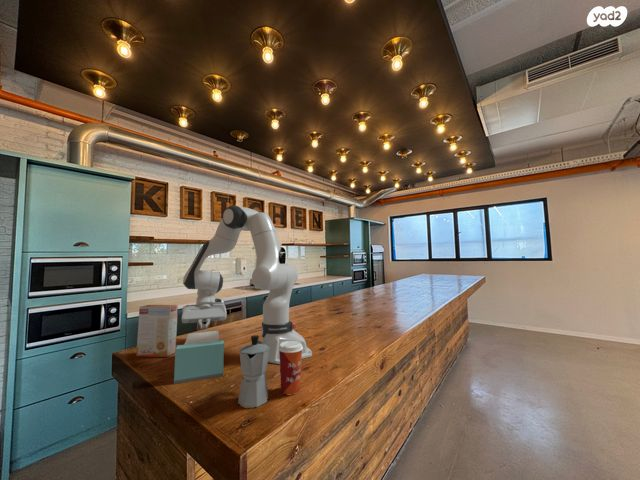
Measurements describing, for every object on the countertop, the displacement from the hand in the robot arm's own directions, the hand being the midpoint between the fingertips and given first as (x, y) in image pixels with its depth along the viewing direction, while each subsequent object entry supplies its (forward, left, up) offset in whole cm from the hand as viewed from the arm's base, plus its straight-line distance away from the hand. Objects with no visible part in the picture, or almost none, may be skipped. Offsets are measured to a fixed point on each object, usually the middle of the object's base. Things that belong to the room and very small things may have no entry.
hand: (203, 328), depth 118 cm
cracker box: (+18, +3, -9) cm, 20 cm away
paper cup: (-27, +55, -9) cm, 62 cm away
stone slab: (0, +21, -3) cm, 21 cm away
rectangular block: (0, +17, -8) cm, 19 cm away
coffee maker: (-16, +55, -9) cm, 58 cm away
